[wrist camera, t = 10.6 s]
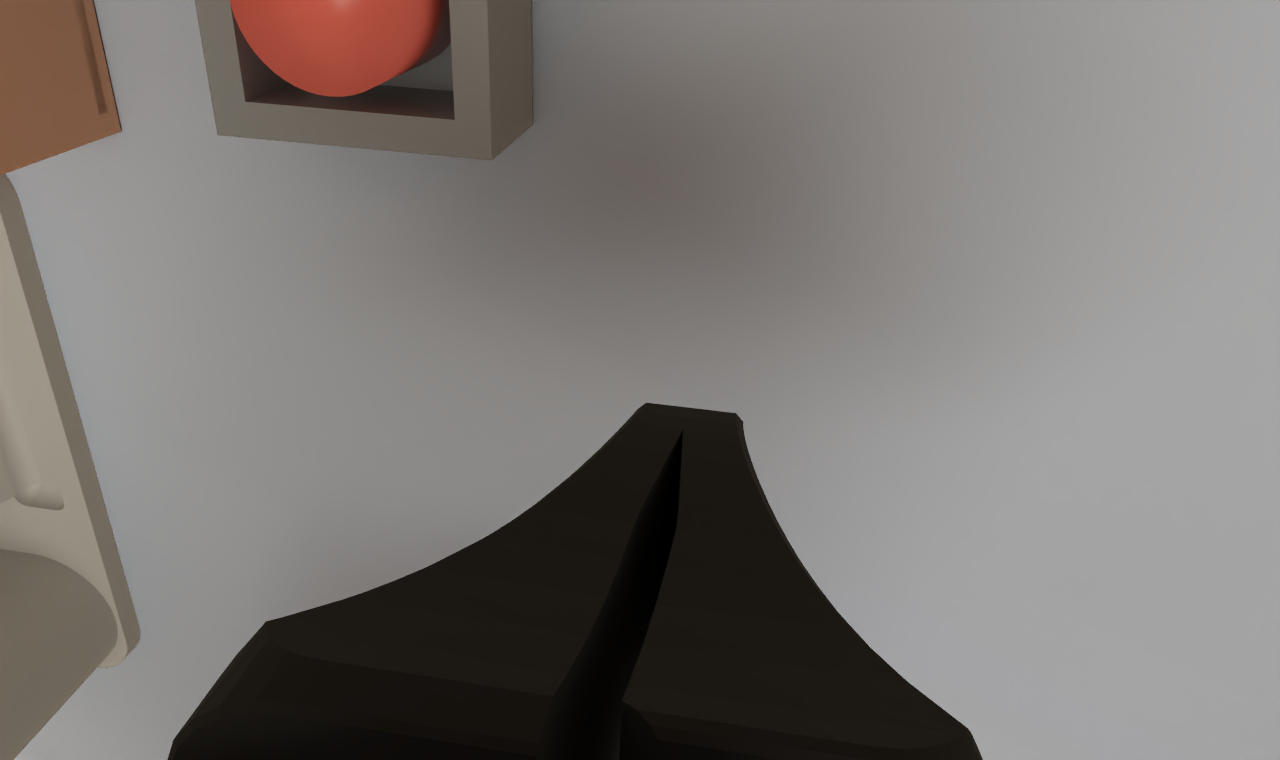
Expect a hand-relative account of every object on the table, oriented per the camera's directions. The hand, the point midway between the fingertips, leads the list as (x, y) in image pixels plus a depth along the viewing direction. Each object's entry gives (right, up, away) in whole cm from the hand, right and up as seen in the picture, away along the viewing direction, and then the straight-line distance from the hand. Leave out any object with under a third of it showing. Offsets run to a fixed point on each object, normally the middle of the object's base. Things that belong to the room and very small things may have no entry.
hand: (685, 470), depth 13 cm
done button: (-6, +9, +6) cm, 12 cm away
